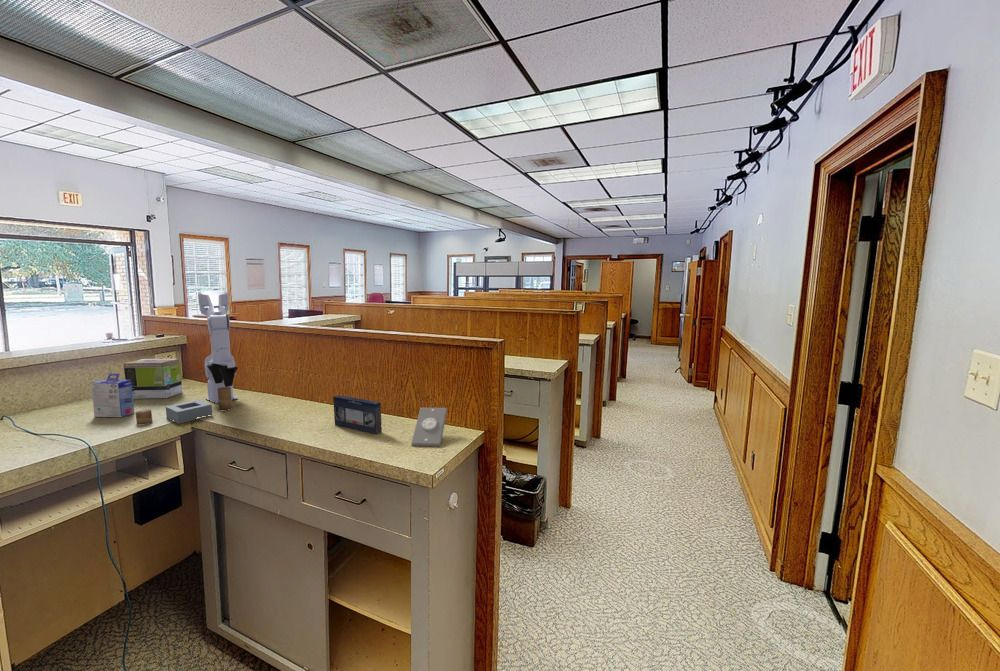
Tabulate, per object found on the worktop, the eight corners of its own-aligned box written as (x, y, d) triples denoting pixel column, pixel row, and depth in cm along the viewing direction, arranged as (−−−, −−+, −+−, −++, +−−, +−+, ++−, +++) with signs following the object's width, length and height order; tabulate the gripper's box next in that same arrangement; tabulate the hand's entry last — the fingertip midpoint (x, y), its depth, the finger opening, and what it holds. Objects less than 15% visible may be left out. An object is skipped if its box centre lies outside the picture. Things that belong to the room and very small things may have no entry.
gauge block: (166, 417, 144) (165, 406, 143) (199, 410, 152) (198, 399, 151) (178, 423, 138) (177, 411, 138) (212, 415, 147) (211, 404, 146)
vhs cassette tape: (334, 425, 138) (332, 396, 137) (341, 423, 141) (340, 394, 139) (375, 435, 130) (374, 404, 128) (382, 432, 132) (381, 402, 131)
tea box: (183, 392, 176) (180, 357, 174) (165, 399, 166) (162, 362, 164) (146, 392, 175) (142, 357, 173) (126, 399, 165) (122, 362, 163)
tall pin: (217, 409, 153) (215, 388, 152) (229, 406, 156) (227, 386, 155) (222, 411, 151) (220, 390, 150) (234, 408, 154) (232, 387, 153)
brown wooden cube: (134, 423, 138) (133, 411, 138) (150, 420, 142) (148, 408, 141) (139, 425, 136) (137, 414, 136) (154, 422, 139) (153, 410, 139)
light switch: (410, 441, 121) (420, 405, 133) (413, 454, 124) (422, 417, 136) (439, 442, 121) (446, 405, 132) (441, 455, 124) (448, 418, 136)
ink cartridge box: (136, 412, 149) (131, 373, 147) (121, 417, 143) (117, 376, 141) (108, 412, 149) (104, 372, 147) (93, 417, 144) (88, 376, 142)
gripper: (199, 347, 151) (202, 383, 153) (217, 351, 143) (220, 390, 145) (220, 344, 157) (223, 380, 159) (239, 348, 149) (242, 385, 151)
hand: (223, 384), depth 152 cm, fingers open, 7 cm apart
